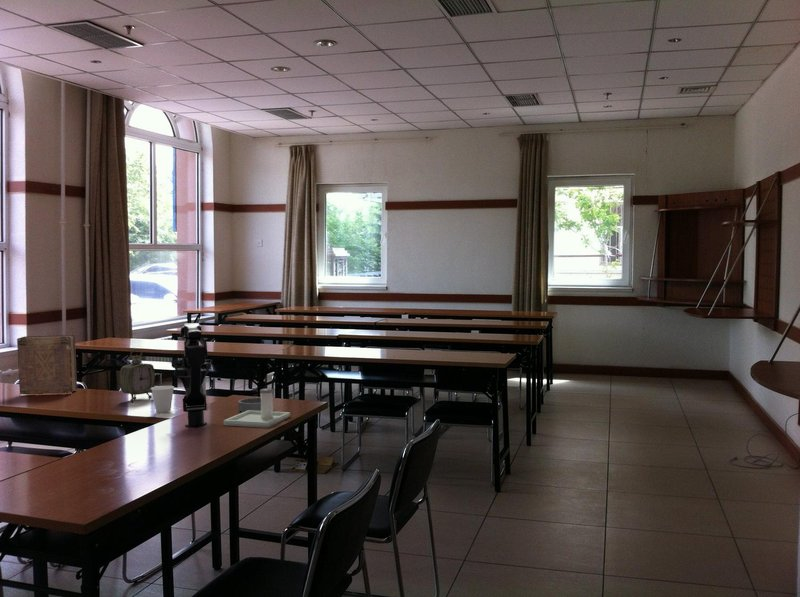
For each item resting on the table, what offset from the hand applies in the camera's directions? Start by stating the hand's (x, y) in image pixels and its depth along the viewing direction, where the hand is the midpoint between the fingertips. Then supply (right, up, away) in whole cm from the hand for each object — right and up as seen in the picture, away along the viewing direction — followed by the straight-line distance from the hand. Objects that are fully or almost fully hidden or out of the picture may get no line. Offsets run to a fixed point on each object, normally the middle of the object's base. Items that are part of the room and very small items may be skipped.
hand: (193, 389), depth 295 cm
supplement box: (-8, -12, +34) cm, 36 cm away
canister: (+31, -12, -2) cm, 34 cm away
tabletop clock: (-41, -12, +47) cm, 64 cm away
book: (-95, -11, +68) cm, 118 cm away
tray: (+28, -13, -3) cm, 31 cm away
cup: (-19, -13, +18) cm, 29 cm away
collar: (+22, -12, +20) cm, 32 cm away
